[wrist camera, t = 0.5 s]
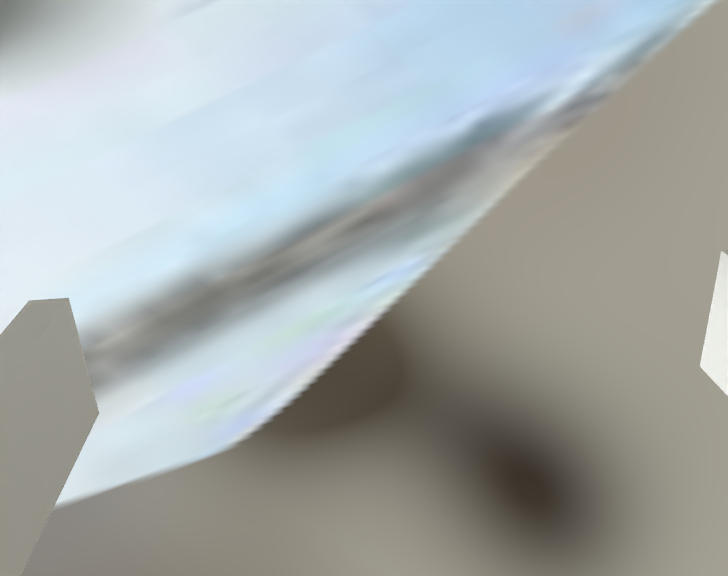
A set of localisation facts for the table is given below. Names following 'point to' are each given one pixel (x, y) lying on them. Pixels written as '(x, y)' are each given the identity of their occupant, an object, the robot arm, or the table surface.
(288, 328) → the table surface
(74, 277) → the table surface
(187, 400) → the table surface
